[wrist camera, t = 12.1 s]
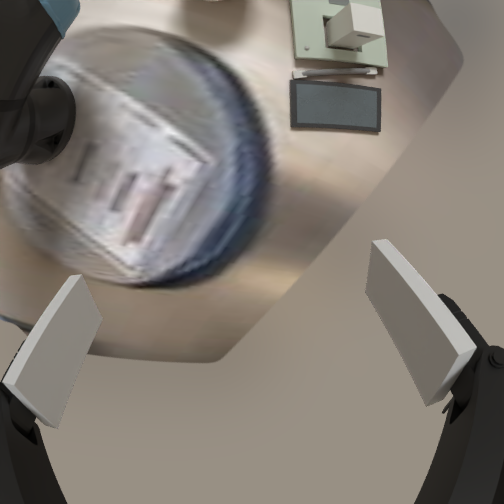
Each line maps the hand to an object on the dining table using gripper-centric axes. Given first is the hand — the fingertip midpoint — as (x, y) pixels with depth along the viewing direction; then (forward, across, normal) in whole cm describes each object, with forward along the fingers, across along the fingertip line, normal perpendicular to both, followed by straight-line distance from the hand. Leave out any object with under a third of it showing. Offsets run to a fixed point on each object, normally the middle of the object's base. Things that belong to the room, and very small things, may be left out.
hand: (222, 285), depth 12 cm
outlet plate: (+31, +18, +21) cm, 41 cm away
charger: (+31, +18, +18) cm, 40 cm away
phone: (+31, +16, +7) cm, 36 cm away
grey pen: (+31, +16, +12) cm, 37 cm away
